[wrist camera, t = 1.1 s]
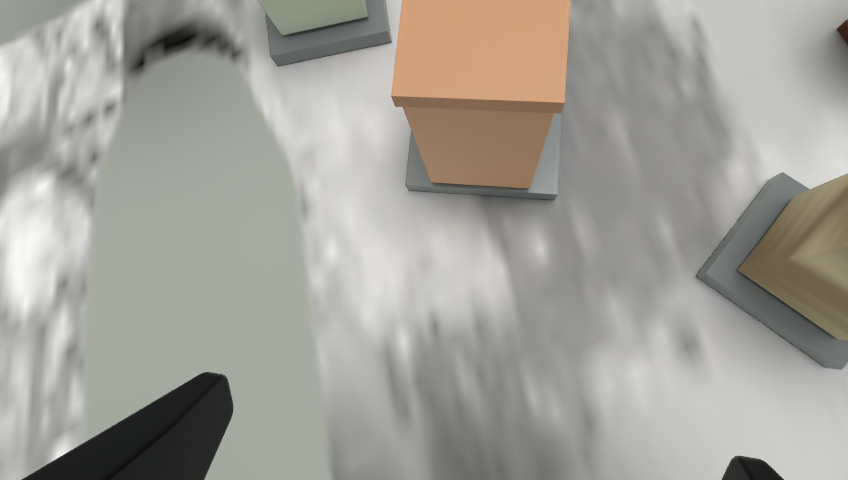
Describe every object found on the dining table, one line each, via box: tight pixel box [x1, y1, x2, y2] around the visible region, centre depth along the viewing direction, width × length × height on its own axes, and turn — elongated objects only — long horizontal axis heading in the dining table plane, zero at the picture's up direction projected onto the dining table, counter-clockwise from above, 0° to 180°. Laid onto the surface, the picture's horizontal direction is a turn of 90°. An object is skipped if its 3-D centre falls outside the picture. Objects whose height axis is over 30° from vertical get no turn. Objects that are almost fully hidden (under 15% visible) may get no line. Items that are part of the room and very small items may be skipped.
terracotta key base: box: [405, 111, 562, 200], centre depth 24 cm, size 9×7×1 cm
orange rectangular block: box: [391, 0, 570, 189], centre depth 19 cm, size 4×5×9 cm
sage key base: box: [266, 0, 392, 66], centre depth 26 cm, size 6×6×1 cm
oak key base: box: [696, 172, 848, 369], centre depth 21 cm, size 6×6×1 cm
